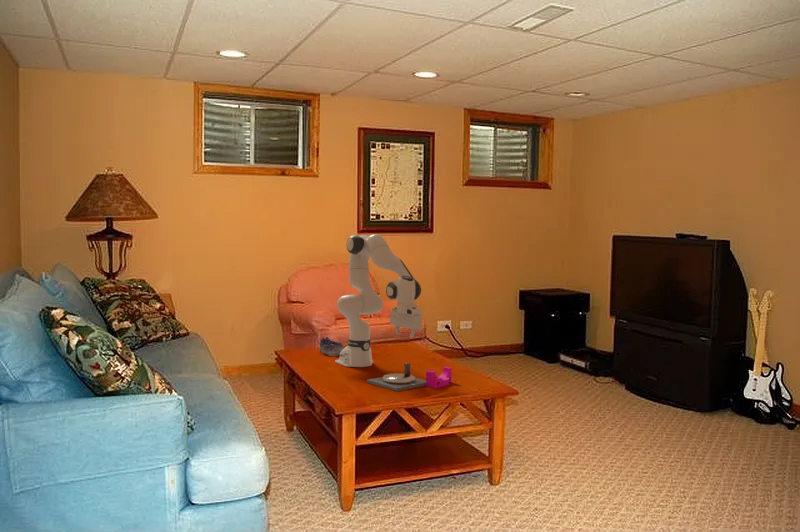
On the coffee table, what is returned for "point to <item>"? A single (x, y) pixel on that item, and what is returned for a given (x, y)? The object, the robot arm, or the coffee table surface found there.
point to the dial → (400, 376)
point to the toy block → (438, 378)
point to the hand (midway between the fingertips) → (405, 336)
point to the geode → (330, 347)
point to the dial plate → (397, 387)
